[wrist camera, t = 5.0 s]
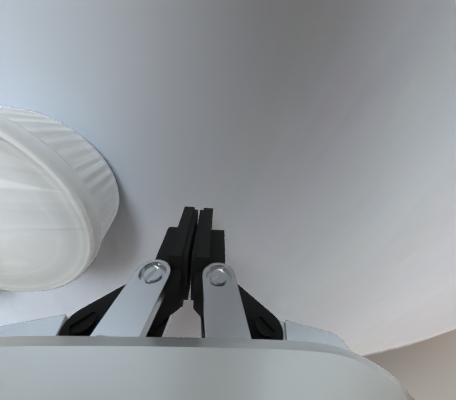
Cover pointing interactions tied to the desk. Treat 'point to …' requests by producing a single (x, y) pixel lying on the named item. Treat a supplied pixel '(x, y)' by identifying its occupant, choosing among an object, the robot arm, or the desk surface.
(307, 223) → the desk surface
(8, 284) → the ramekin
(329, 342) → the robot arm
